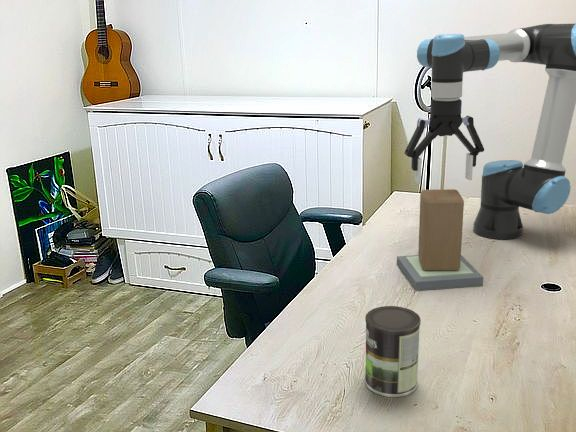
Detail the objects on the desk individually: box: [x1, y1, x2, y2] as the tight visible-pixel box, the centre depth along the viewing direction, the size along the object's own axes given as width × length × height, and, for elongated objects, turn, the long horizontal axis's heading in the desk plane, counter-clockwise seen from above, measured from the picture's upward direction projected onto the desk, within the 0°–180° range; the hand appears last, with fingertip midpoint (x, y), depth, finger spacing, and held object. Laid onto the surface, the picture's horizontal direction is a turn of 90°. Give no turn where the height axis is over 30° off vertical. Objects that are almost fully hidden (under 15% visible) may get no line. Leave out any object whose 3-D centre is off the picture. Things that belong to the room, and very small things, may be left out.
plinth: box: [396, 254, 484, 292], centre depth 171 cm, size 18×18×3 cm
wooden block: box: [417, 188, 465, 270], centre depth 168 cm, size 10×10×20 cm
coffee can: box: [364, 305, 422, 398], centre depth 121 cm, size 10×10×14 cm
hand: (443, 180), depth 164 cm, fingers open, 13 cm apart
